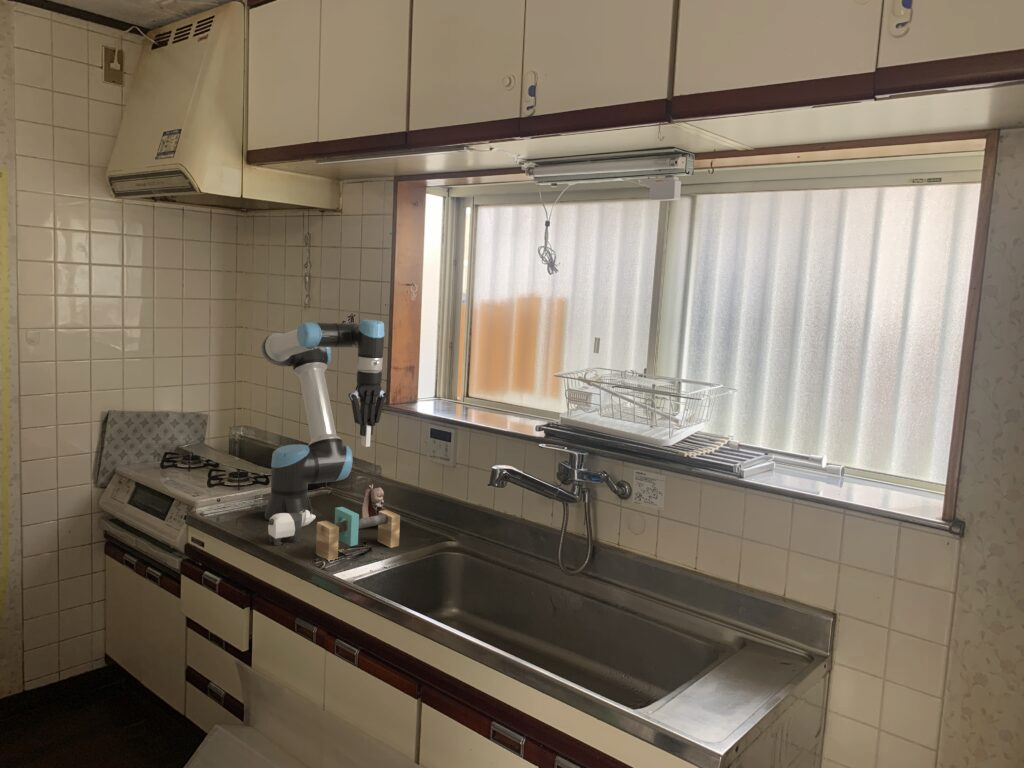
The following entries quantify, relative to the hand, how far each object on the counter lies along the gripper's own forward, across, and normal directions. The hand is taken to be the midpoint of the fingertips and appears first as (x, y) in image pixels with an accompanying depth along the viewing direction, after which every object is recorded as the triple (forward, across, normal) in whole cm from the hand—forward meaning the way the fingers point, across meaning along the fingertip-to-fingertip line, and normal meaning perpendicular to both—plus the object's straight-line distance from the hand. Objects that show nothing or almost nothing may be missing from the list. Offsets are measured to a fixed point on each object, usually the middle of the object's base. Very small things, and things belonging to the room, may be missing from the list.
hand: (365, 445), depth 241 cm
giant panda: (+28, -22, +4) cm, 36 cm away
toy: (+28, +7, +3) cm, 29 cm away
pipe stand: (+28, -9, -14) cm, 32 cm away
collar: (+24, -14, -13) cm, 31 cm away
